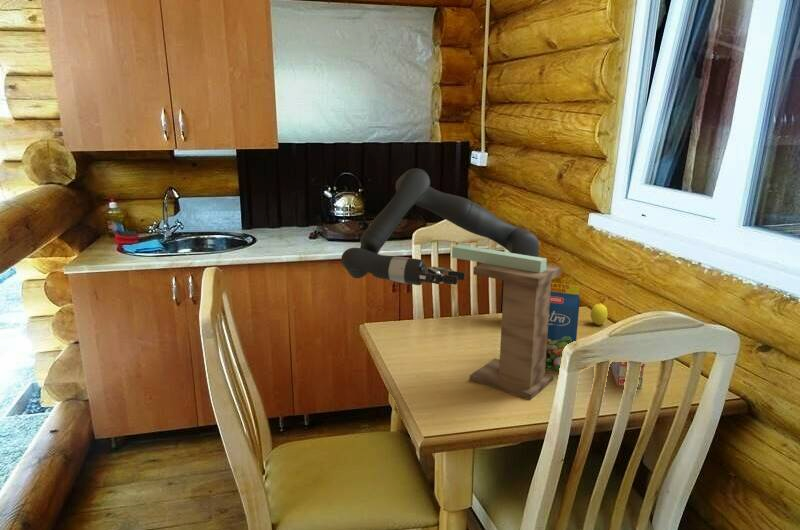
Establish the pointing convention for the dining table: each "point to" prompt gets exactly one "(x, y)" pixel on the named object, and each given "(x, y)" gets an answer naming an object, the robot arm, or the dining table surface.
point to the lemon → (599, 314)
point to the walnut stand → (520, 331)
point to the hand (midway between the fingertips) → (461, 278)
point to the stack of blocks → (623, 373)
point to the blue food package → (561, 322)
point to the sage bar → (500, 258)
